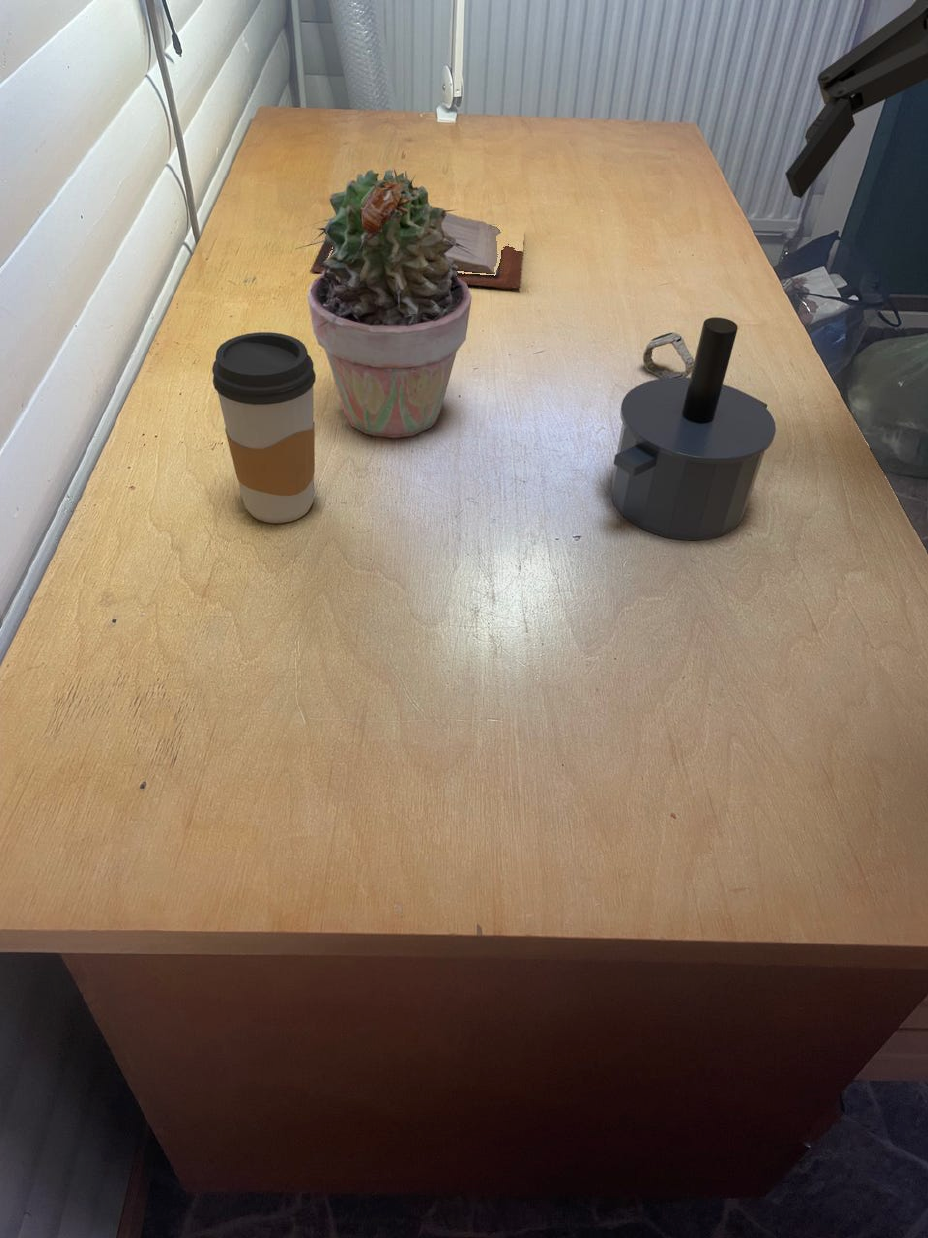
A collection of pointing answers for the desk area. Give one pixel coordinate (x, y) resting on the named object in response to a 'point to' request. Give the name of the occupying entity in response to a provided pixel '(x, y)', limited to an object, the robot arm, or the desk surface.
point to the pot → (680, 491)
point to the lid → (700, 408)
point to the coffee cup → (269, 422)
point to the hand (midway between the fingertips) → (869, 214)
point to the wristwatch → (681, 350)
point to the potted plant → (389, 305)
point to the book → (485, 250)
